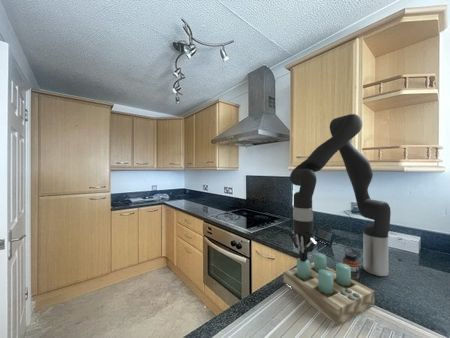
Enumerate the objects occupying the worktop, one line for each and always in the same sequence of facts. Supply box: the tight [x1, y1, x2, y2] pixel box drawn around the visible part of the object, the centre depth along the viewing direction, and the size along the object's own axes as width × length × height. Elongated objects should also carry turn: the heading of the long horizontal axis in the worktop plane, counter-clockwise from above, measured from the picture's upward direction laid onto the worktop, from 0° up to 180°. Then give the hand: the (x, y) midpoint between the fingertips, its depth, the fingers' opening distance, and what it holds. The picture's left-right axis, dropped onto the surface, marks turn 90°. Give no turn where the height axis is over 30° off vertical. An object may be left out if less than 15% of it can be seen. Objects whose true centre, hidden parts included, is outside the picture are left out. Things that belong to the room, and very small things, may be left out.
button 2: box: [313, 252, 328, 271], centre depth 82 cm, size 5×5×6 cm
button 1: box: [296, 258, 311, 279], centre depth 78 cm, size 5×5×6 cm
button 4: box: [335, 262, 351, 286], centre depth 73 cm, size 5×5×6 cm
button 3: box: [318, 269, 333, 294], centre depth 69 cm, size 5×5×6 cm
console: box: [283, 261, 375, 326], centre depth 75 cm, size 20×24×5 cm
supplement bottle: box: [342, 251, 360, 283], centre depth 84 cm, size 6×6×11 cm
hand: (303, 260), depth 78 cm, fingers closed
